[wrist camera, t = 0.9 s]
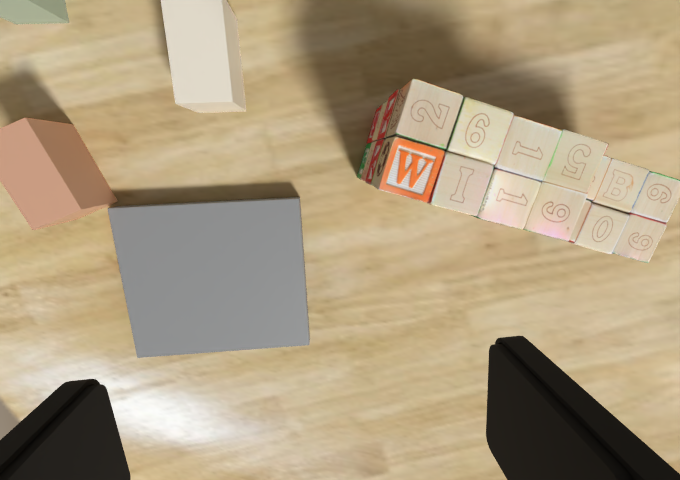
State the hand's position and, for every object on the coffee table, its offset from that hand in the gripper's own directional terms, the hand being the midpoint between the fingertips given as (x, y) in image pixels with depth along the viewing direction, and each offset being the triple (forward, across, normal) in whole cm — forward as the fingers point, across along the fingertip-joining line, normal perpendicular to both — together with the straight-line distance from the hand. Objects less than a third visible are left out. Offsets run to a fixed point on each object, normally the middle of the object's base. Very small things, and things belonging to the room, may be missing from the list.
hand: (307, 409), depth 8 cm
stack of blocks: (+25, -15, -3) cm, 29 cm away
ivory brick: (+25, +7, -14) cm, 29 cm away
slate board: (+24, +9, +4) cm, 26 cm away
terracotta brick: (+24, +20, -6) cm, 32 cm away
